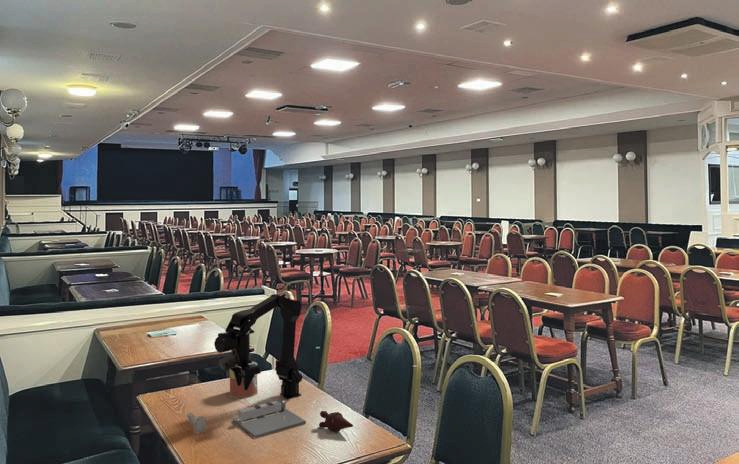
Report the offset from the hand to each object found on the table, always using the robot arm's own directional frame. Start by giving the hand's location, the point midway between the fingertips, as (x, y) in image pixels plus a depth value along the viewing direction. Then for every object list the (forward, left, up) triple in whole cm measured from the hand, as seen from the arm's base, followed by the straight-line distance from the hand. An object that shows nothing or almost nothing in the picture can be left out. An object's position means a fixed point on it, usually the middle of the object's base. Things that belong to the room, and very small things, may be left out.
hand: (242, 387), depth 208 cm
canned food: (-10, -20, -10) cm, 24 cm away
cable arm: (-4, +8, -8) cm, 12 cm away
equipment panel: (-4, +13, -10) cm, 17 cm away
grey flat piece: (+20, +6, -10) cm, 23 cm away
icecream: (-19, +34, -10) cm, 40 cm away
